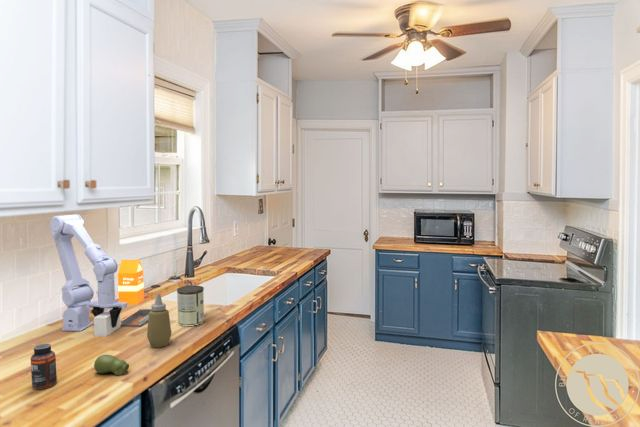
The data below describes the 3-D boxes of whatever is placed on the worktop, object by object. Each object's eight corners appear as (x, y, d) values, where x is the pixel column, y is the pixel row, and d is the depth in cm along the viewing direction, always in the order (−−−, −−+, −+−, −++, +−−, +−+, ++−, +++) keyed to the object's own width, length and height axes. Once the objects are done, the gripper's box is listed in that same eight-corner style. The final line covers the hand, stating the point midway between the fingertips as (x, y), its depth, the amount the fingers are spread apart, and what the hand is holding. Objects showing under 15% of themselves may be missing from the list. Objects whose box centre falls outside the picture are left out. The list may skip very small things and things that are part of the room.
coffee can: (178, 319, 180) (177, 286, 179) (204, 317, 183) (203, 284, 182) (176, 327, 170) (176, 292, 169) (204, 325, 173) (203, 290, 172)
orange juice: (137, 304, 202) (136, 261, 201) (118, 304, 202) (117, 261, 201) (144, 299, 210) (143, 258, 209) (125, 299, 210) (124, 258, 208)
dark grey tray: (140, 326, 171) (140, 321, 171) (120, 326, 172) (120, 320, 172) (157, 314, 187) (157, 309, 187) (139, 313, 188) (138, 308, 188)
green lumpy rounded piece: (102, 350, 134) (133, 356, 133) (100, 366, 134) (131, 373, 134) (91, 357, 128) (123, 364, 128) (89, 374, 129) (121, 381, 128)
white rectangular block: (106, 336, 161) (105, 317, 160) (94, 336, 161) (93, 317, 160) (120, 327, 171) (119, 309, 170) (108, 327, 171) (108, 309, 170)
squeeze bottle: (142, 348, 149) (141, 297, 148) (154, 340, 157) (153, 291, 156) (164, 350, 148) (163, 298, 147) (175, 341, 156) (174, 291, 155)
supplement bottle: (58, 378, 127) (56, 340, 126) (55, 387, 121) (53, 348, 120) (34, 382, 124) (32, 343, 124) (29, 391, 119) (27, 351, 118)
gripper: (130, 289, 168) (131, 323, 169) (93, 288, 169) (94, 322, 170) (121, 293, 161) (122, 329, 162) (82, 293, 162) (84, 328, 163)
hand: (107, 326), depth 166 cm, fingers closed on white rectangular block, 4 cm apart
